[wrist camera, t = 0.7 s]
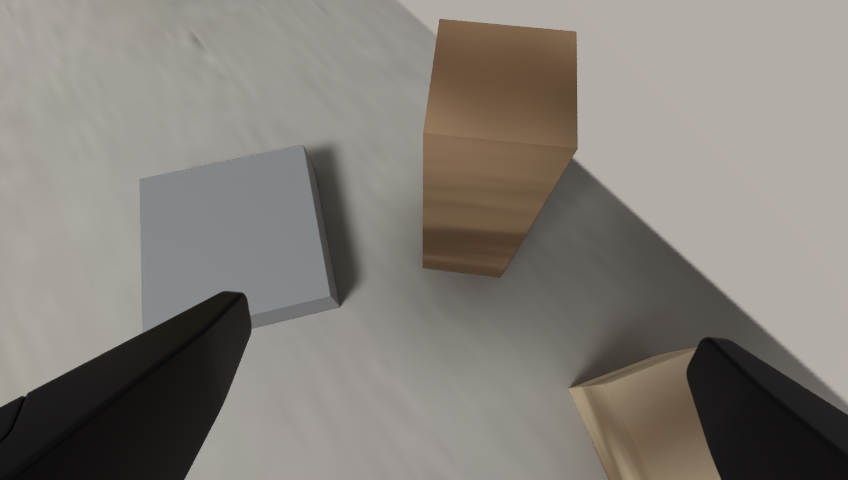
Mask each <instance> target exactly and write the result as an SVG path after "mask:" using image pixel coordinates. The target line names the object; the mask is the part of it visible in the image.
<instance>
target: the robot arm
mask: <svg viewBox="0 0 848 480" xmlns="http://www.w3.org/2000/svg"><path fill="white" fill-rule="evenodd" d="M251 329H252V323H251V317H250V312H249V306H248V300H247V297H246V295H245V294H244V293H242V292H235V291H222V292H220V293H218V294H216V295H214V296H212V297H210V298H209V299H207V300H205V301H203V302H201V303H199V304H197V305H195V306H193V307H191V308H189V309H187V310H186V311H184V312H182V313H180V314H178V315H176V316H174V317H172V318H170V319H168V320H166V321H165V322H163V323H161V324H159V325H157V326H155V327H153V328H151V329H149V330H147V331H145V332H144V333H142V334H140V335H138V336H136V337H134V338H132V339H130V340H128V341H126V342H124V343H123V344H121V345H119V346H117V347H115V348H113V349H111V350H109V351H107V352H105V353H103V354H101V355H100V356H98V357H96V358H94V359H92V360H90V361H88V362H86V363H84V364H82V365H80V366H79V367H77V368H75V369H73V370H71V371H69V372H67V373H65V374H63V375H61V376H59V377H57V378H56V379H54V380H52V381H50V382H48V383H46V384H44V385H42V386H40V387H38V388H36V389H35V390H33V391H31V392H29V393H28V394H27V395H26V397H24V396H21V397H19V398H17V399H15V400H13V401H11V402H10V403H8V404H6V405H4V406H2V407H0V480H184V479H185V477H186V475H187V473H188V472H189V470H190V468H191V466H192V464H193V462H194V460H195V458H196V456H197V454H198V452H199V450H200V448H201V447H202V445H203V443H204V441H205V439H206V437H207V435H208V433H209V431H210V429H211V427H212V425H213V424H214V422H215V420H216V418H217V416H218V414H219V412H220V410H221V408H222V406H223V404H224V401H225V399H226V396H227V394H228V392H229V389H230V386H231V384H232V381H233V379H234V376H235V374H236V371H237V368H238V366H239V363H240V361H241V358H242V356H243V353H244V350H245V348H246V345H247V343H248V340H249V338H250V335H251ZM686 376H687V382H688V385H689V388H690V391H691V394H692V398H693V401H694V404H695V407H696V410H697V414H698V417H699V420H700V423H701V426H702V430H703V433H704V436H705V439H706V442H707V445H708V448H709V451H710V454H711V456H712V459H713V461H714V464H715V466H716V469H717V471H718V474H719V476H720V478H721V480H848V415H847V414H845V413H844V412H842V411H841V410H839V409H837V408H836V407H834V406H833V405H831V404H830V403H828V402H826V401H825V400H823V399H822V398H820V397H819V396H817V395H815V394H814V393H812V392H811V391H809V390H808V389H806V388H804V387H803V386H801V385H800V384H798V383H797V382H795V381H793V380H792V379H790V378H789V377H787V376H786V375H784V374H782V373H781V372H779V371H778V370H776V369H775V368H773V367H771V366H770V365H768V364H767V363H765V362H764V361H762V360H760V359H759V358H757V357H756V356H754V355H752V354H751V353H749V352H748V351H746V350H745V349H743V348H741V347H740V346H738V345H737V344H735V343H734V342H732V341H730V340H728V339H724V338H713V337H706V338H703V339H702V340H701V341H700V343H699V345H698V347H697V349H696V350H695V352H694V354H693V356H692V358H691V360H690V362H689V364H688V367H687V371H686Z"/></svg>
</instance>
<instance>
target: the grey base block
mask: <svg viewBox="0 0 848 480" xmlns="http://www.w3.org/2000/svg"><path fill="white" fill-rule="evenodd" d="M140 221H141V270H142V319H143V333H144V332H145V331H147V330H149V329H151V328H153V327H155V326H157V325H159V324H161V323H163V322H165V321H166V320H168V319H170V318H172V317H174V316H176V315H178V314H180V313H182V312H184V311H186V310H187V309H189V308H191V307H193V306H195V305H197V304H199V303H201V302H203V301H205V300H207V299H209V298H210V297H212V296H214V295H216V294H218V293H220V292H222V291H235V292H242V293H244V294H245V295H246V297H247V300H248V306H249V312H250V317H251V323H252V329H253V328H257V327H261V326H265V325H269V324H273V323H278V322H282V321H286V320H290V319H294V318H298V317H302V316H306V315H310V314H314V313H318V312H322V311H326V310H331V309H335V308H339V307H340V305H339V300H338V294H337V289H336V284H335V278H334V273H333V267H332V262H331V257H330V251H329V246H328V241H327V235H326V230H325V224H324V219H323V214H322V208H321V203H320V197H319V192H318V187H317V181H316V176H315V170H314V167H313V165H312V163H311V161H310V158H309V156H308V154H307V152H306V150H305V147H304V145H300V146H295V147H291V148H286V149H281V150H276V151H272V152H267V153H262V154H257V155H252V156H248V157H243V158H238V159H233V160H229V161H224V162H219V163H214V164H210V165H205V166H200V167H195V168H191V169H186V170H181V171H176V172H171V173H167V174H162V175H157V176H152V177H148V178H143V179H140Z"/></svg>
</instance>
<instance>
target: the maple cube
mask: <svg viewBox="0 0 848 480" xmlns="http://www.w3.org/2000/svg"><path fill="white" fill-rule="evenodd" d="M697 347H698V346H697ZM697 347H692V348H687V349H683V350H678V351H673V352H669V353H664V354H660V355H655V356H652V357H649V358H647V359H644V360H641V361H639V362H636V363H634V364H631V365H628V366H626V367H623V368H621V369H618V370H615V371H613V372H610V373H607V374H605V375H602V376H600V377H597V378H594V379H592V380H589V381H587V382H584V383H581V384H579V385H576V386H574V387H571V388H568V389H569V391H570V393H571V396H572V398H573V400H574V402H575V405H576V407H577V409H578V411H579V414H580V416H581V418H582V420H583V423H584V425H585V427H586V430H587V432H588V434H589V436H590V439H591V441H592V443H593V445H594V448H595V450H596V452H597V454H598V457H599V459H600V461H601V463H602V466H603V468H604V470H605V473H606V475H607V477H608V479H609V480H721V478H720V476H719V474H718V471H717V469H716V466H715V464H714V461H713V459H712V456H711V454H710V451H709V448H708V445H707V442H706V439H705V436H704V433H703V430H702V426H701V423H700V420H699V417H698V414H697V410H696V407H695V404H694V401H693V398H692V394H691V391H690V388H689V385H688V382H687V376H686V371H687V367H688V364H689V362H690V360H691V358H692V356H693V354H694V352H695V350H696V349H697Z"/></svg>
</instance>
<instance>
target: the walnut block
mask: <svg viewBox="0 0 848 480" xmlns="http://www.w3.org/2000/svg"><path fill="white" fill-rule="evenodd" d="M576 47H577V44H576V32H574V31H564V30H552V29H542V28H530V27H520V26H510V25H499V24H488V23H477V22H467V21H456V20H445V19H440V20H439V27H438V34H437V41H436V48H435V55H434V62H433V69H432V76H431V83H430V90H429V97H428V104H427V111H426V118H425V125H424V132H423V268H426V269H434V270H443V271H451V272H460V273H469V274H477V275H486V276H495V277H501V275H502V273H503V272H504V270H505V268H506V267H507V265H508V263H509V262H510V260H511V258H512V257H513V255H514V253H515V252H516V250H517V248H518V247H519V245H520V243H521V242H522V240H523V238H524V237H525V235H526V233H527V232H528V230H529V228H530V227H531V225H532V224H533V222H534V220H535V219H536V217H537V215H538V214H539V212H540V210H541V209H542V207H543V205H544V204H545V202H546V200H547V199H548V197H549V195H550V194H551V192H552V190H553V189H554V187H555V185H556V184H557V182H558V180H559V179H560V177H561V175H562V174H563V172H564V170H565V169H566V167H567V165H568V164H569V162H570V160H571V159H572V157H573V155H574V154H575V152H576V150H577V48H576Z"/></svg>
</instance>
